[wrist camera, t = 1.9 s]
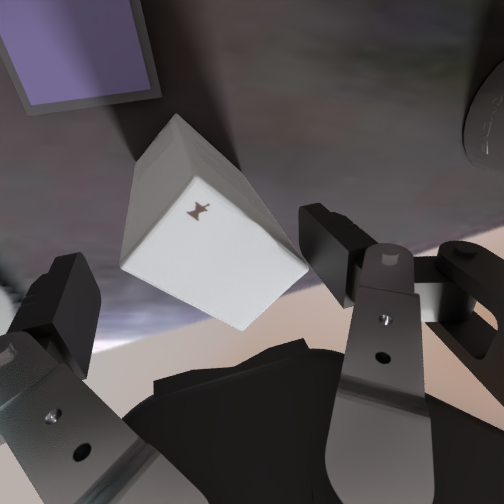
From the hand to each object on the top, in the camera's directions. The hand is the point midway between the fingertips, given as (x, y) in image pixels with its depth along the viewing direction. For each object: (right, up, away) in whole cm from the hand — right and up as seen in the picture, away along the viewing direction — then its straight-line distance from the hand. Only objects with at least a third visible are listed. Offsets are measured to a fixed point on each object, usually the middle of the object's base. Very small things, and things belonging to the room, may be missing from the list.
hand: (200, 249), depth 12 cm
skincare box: (-2, +6, +9) cm, 11 cm away
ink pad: (-7, +11, +4) cm, 14 cm away
